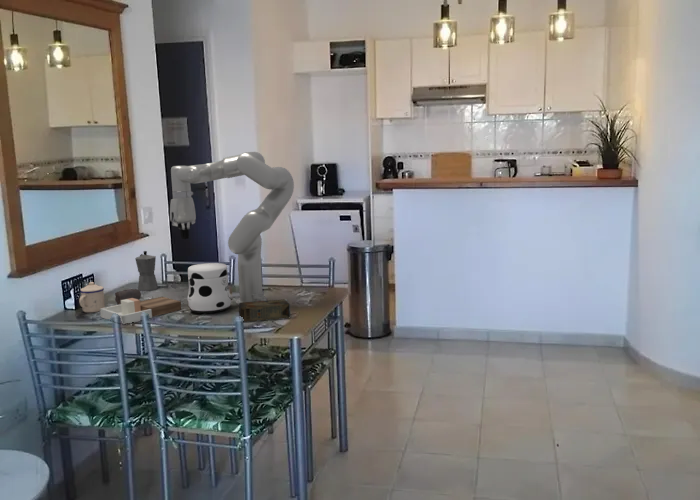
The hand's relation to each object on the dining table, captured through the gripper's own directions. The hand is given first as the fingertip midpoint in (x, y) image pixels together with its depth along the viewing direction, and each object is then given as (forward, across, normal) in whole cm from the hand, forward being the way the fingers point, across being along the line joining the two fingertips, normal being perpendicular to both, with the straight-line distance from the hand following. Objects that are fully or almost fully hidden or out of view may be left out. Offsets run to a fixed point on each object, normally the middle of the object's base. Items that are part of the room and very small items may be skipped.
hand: (184, 238), depth 278 cm
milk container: (+27, +4, +21) cm, 35 cm away
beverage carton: (+28, -2, +48) cm, 55 cm away
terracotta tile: (+24, +27, +4) cm, 36 cm away
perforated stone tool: (+27, +20, -15) cm, 37 cm away
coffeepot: (+27, -2, -38) cm, 47 cm away
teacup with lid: (+27, +35, -18) cm, 48 cm away
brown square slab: (+27, +18, +4) cm, 33 cm away
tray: (+27, +32, +4) cm, 42 cm away
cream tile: (+24, +29, +4) cm, 38 cm away
